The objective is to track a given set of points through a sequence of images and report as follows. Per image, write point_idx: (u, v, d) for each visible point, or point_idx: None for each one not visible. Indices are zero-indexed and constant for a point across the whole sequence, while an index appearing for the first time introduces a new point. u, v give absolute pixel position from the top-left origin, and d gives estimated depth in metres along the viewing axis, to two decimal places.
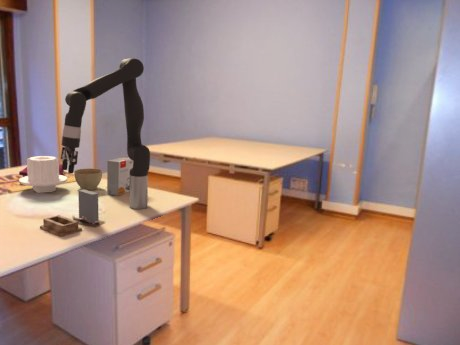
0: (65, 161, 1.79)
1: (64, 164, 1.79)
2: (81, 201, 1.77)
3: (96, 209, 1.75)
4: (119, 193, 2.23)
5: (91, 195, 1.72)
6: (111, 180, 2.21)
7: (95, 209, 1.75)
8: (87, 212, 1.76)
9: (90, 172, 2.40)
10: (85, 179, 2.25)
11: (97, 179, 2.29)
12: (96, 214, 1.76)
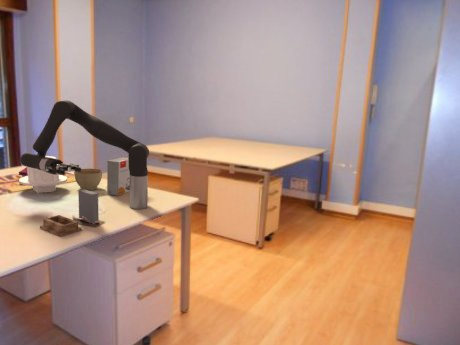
0: (74, 168, 1.85)
1: (76, 169, 1.85)
2: (81, 201, 1.77)
3: (96, 209, 1.75)
4: (119, 193, 2.23)
5: (91, 195, 1.72)
6: (111, 180, 2.21)
7: (95, 209, 1.75)
8: (87, 212, 1.76)
9: (90, 172, 2.40)
10: (85, 179, 2.25)
11: (97, 179, 2.29)
12: (96, 214, 1.76)
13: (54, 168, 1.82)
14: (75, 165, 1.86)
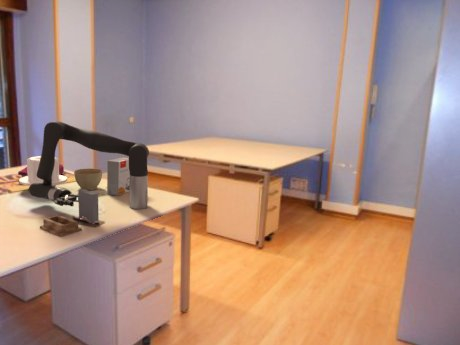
0: None
1: None
2: (81, 201, 1.77)
3: (96, 209, 1.75)
4: (119, 193, 2.23)
5: (91, 195, 1.72)
6: (111, 180, 2.21)
7: (95, 209, 1.75)
8: (87, 212, 1.76)
9: (90, 172, 2.40)
10: (85, 179, 2.25)
11: (97, 179, 2.29)
12: (96, 214, 1.76)
13: (63, 199, 1.82)
14: None
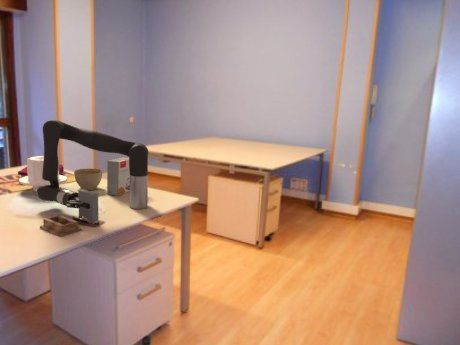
0: None
1: None
2: None
3: (96, 209, 1.75)
4: (119, 193, 2.23)
5: (91, 195, 1.72)
6: (111, 180, 2.21)
7: (95, 209, 1.75)
8: (87, 212, 1.76)
9: (90, 172, 2.40)
10: (85, 179, 2.25)
11: (97, 179, 2.29)
12: (96, 214, 1.76)
13: (73, 202, 1.78)
14: None
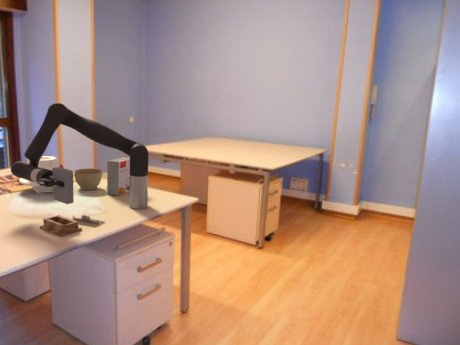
0: None
1: None
2: None
3: (71, 188, 1.63)
4: (119, 193, 2.23)
5: (65, 172, 1.60)
6: (111, 180, 2.21)
7: (69, 188, 1.62)
8: (61, 191, 1.64)
9: (90, 172, 2.40)
10: (85, 179, 2.25)
11: (97, 179, 2.29)
12: (71, 193, 1.63)
13: (47, 180, 1.66)
14: None
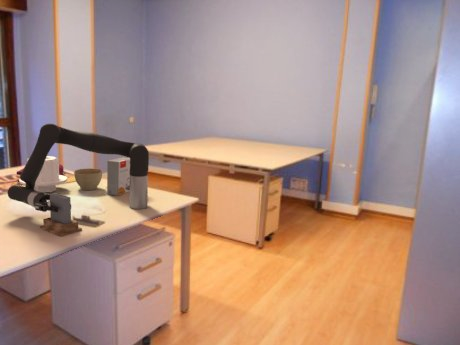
0: None
1: None
2: None
3: (68, 214, 1.63)
4: (119, 193, 2.23)
5: (63, 199, 1.61)
6: (111, 180, 2.21)
7: (67, 214, 1.63)
8: (58, 217, 1.64)
9: (90, 172, 2.40)
10: (85, 179, 2.25)
11: (97, 179, 2.29)
12: (68, 219, 1.64)
13: (43, 204, 1.66)
14: None
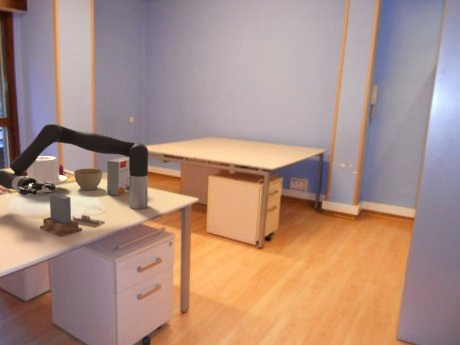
0: (48, 187, 1.75)
1: (50, 188, 1.74)
2: (52, 206, 1.65)
3: (68, 214, 1.63)
4: (119, 193, 2.23)
5: (63, 199, 1.61)
6: (111, 180, 2.21)
7: (67, 214, 1.63)
8: (58, 217, 1.64)
9: (90, 172, 2.40)
10: (85, 179, 2.25)
11: (97, 179, 2.29)
12: (68, 219, 1.64)
13: (26, 188, 1.72)
14: (49, 184, 1.76)
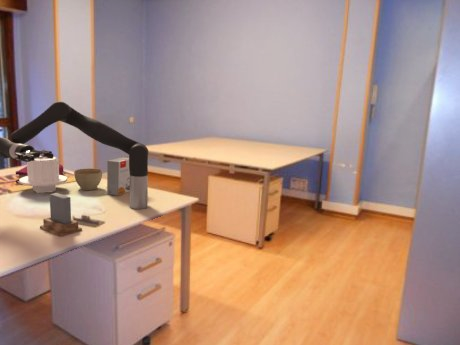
0: (46, 155, 1.72)
1: (48, 156, 1.71)
2: (52, 206, 1.65)
3: (68, 214, 1.63)
4: (119, 193, 2.23)
5: (63, 199, 1.61)
6: (111, 180, 2.21)
7: (67, 214, 1.63)
8: (58, 217, 1.64)
9: (90, 172, 2.40)
10: (85, 179, 2.25)
11: (97, 179, 2.29)
12: (68, 219, 1.64)
13: (24, 154, 1.69)
14: (47, 151, 1.73)
